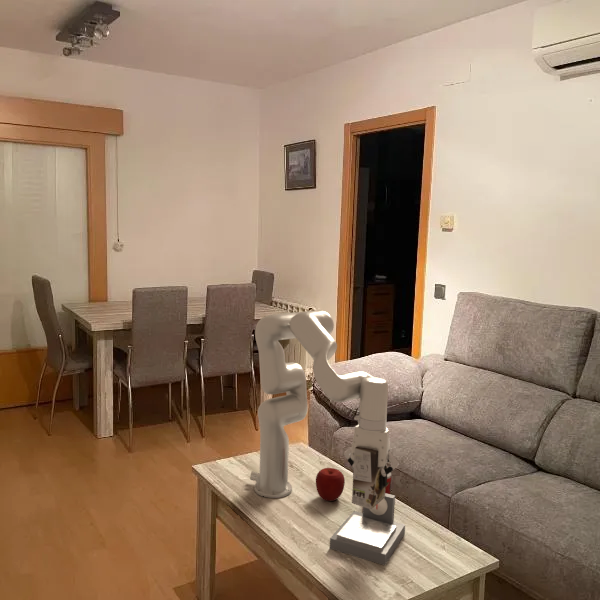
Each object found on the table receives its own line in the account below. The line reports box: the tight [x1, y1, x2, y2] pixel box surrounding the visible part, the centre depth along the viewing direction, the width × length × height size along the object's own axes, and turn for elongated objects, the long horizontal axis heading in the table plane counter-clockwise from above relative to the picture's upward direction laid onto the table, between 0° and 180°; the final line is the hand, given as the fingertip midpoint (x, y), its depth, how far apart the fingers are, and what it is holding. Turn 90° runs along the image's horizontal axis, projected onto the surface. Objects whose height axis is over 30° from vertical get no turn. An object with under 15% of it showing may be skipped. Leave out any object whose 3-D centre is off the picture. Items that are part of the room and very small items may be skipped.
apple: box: [315, 467, 346, 502], centre depth 188 cm, size 10×10×10 cm
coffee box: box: [351, 447, 385, 509], centre depth 160 cm, size 9×6×16 cm
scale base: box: [329, 493, 406, 566], centre depth 163 cm, size 16×18×11 cm
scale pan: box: [337, 515, 396, 551], centre depth 162 cm, size 13×13×1 cm
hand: (369, 484), depth 160 cm, fingers closed on coffee box, 6 cm apart
